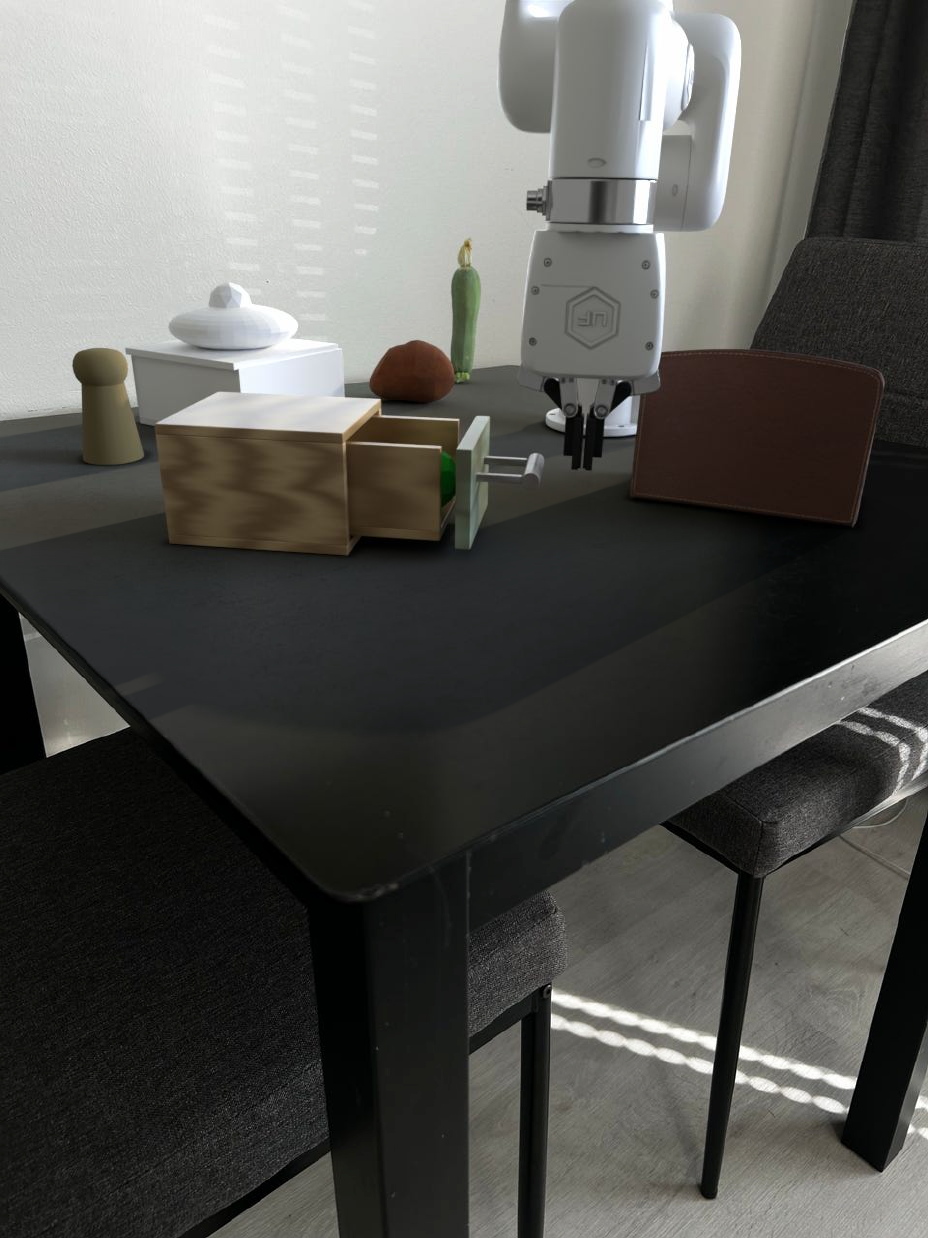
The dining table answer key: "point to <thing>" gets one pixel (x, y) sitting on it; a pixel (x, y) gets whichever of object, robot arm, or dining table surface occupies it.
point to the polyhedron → (447, 478)
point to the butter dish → (231, 357)
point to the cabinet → (260, 471)
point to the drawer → (423, 477)
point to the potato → (413, 373)
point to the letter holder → (758, 433)
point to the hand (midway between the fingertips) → (581, 465)
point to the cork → (106, 408)
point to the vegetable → (464, 313)
